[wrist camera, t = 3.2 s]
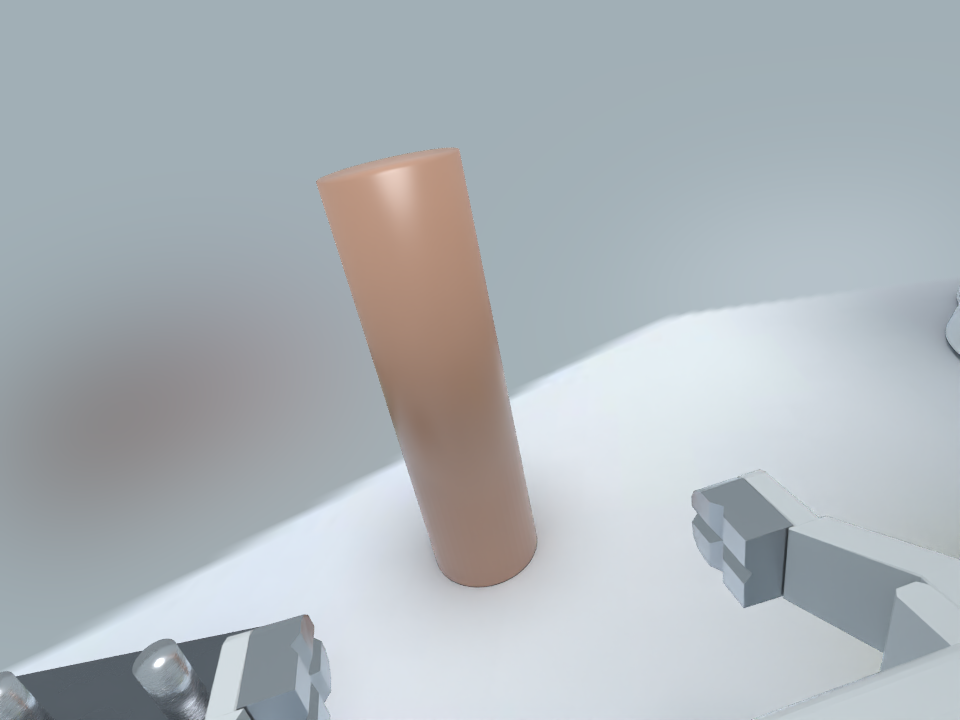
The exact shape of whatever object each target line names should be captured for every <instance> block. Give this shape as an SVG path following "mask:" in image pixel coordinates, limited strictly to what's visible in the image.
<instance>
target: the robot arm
mask: <svg viewBox="0 0 960 720" xmlns="http://www.w3.org/2000/svg"><path fill="white" fill-rule="evenodd" d="M957 301H958V303H959V304H958V306H957V308H956V310H955V312H954V314H953V315H952V317H951V319H950V320H949V322H948V324H947V326H946V332H945V333H946V338H947V340H948V342H949V343H950V345H951V346H952V347H953V349H954V350H955V351H956V352H957V353H959V354H960V287H959V290H958V293H957ZM692 507H693V508H694V509H695V510H696V512H697V515H696V517H695V518H694V520H693V521H692V527H693V536H694V539H695V541H696V544H697V547H698V549H699V551H700V552H701V554H702V556H703V557H704V559H705V560H706V561H707V563H708V564H709V565H710V566H711V567H714V568H716V569H718V570H720V571H723V583H724V584H725V585H726V587H727V588H728V589H729V590H730V592H731V593H732V594H733V595H734V597H735V598H736V599H737V600H738V602H739V603H740V604H741V605H742V607H743V608H746V607H749V606H752V605H756V604H759V603H762V602H765V601H768V600H772V599H775V598H778V597H781V596H784V597H783V598H784V599H786V600H788V601H789V602H791V603H793V604H795V605H797V606H799V607H800V608H802V609H804V610H806V611H808V612H810V613H811V614H813V615H815V616H817V617H819V618H821V619H822V620H824V621H826V622H828V623H830V624H832V625H833V626H835V627H837V628H839V629H841V630H843V631H844V632H846V633H848V634H850V635H852V636H853V637H855V638H857V639H859V640H861V641H863V642H864V643H866V644H868V645H870V646H872V647H874V648H875V649H877V650H879V651H881V652H883V658H882V663H881V668H880V672H879V673H876V674H873V675H871V676H868V677H865V678H862V679H860V680H857V681H854V682H852V683H849V684H846V685H844V686H841V687H838V688H835V689H833V690H830V691H827V692H825V693H822V694H819V695H816V696H814V697H811V698H808V699H806V700H803V701H800V702H797V703H795V704H792V705H789V706H787V707H784V708H781V709H779V710H776V711H773V712H770V713H768V714H765V715H762V716H760V717H757V718H754V719H751V720H960V559H957V558H954V557H951V556H948V555H945V554H942V553H939V552H935V551H932V550H929V549H926V548H923V547H920V546H917V545H914V544H911V543H908V542H905V541H902V540H898V539H895V538H892V537H889V536H886V535H883V534H880V533H877V532H874V531H871V530H868V529H865V528H862V527H858V526H855V525H852V524H849V523H846V522H843V521H840V520H837V519H834V518H831V517H828V516H824V517H821V518H819V517H818V516H817V515H815V514H814V513H813V512H812V511H811V510H810V509H808V508H807V507H806V506H805V505H804V504H803V503H801V502H800V501H799V500H798V499H797V498H796V497H794V496H793V495H792V494H791V493H790V492H789V491H787V490H786V489H785V488H784V487H783V486H782V485H780V484H779V483H778V482H777V481H776V480H775V479H773V478H772V477H771V476H770V475H769V474H768V473H766V472H765V471H762V470H757V471H754V472H751V473H747V474H744V475H741V476H738V477H737V478H732V479H729V480H726V481H723V482H720V483H717V484H714V485H711V486H708V487H705V488H702V489H699V490H695V491H694V492H693V494H692ZM330 693H331V674H330V666H329V660H328V657H327V653H326V650H325V648H324V646H323V643H322V641H320V640H317V639H315V638H314V625H313V623H312V621H311V619H310V618H309V616H308V615H301V616H297V617H294V618H290V619H287V620H283V621H280V622H276V623H273V624H269V625H266V626H263V627H259V628H256V629H253V630H251V631H247V632H244V633H240V634H237V635H233V636H230V637H227V639H226V640H225V642H224V643H223V645H222V648H221V652H220V656H219V661H218V665H217V669H216V673H215V678H214V682H213V686H212V690H211V694H210V699H209V703H208V707H207V711H206V716H205V720H330V714H329V712H328V710H327V708H326V706H325V704H324V702H325V701H326V699H327V697H328V696H329V694H330Z"/></svg>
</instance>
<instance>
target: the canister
mask: <svg viewBox="0 0 960 720" xmlns="http://www.w3.org/2000/svg"><path fill="white" fill-rule="evenodd" d="M316 183H317V186H318V189H319V192H320V196H321V199H322V202H323V205H324V208H325V211H326V215H327V217H328V221H329V224H330V227H331V230H332V233H333V237H334V240H335V243H336V246H337V249H338V252H339V255H340V259H341V262H342V265H343V268H344V271H345V274H346V277H347V281H348V284H349V287H350V290H351V293H352V296H353V299H354V303H355V306H356V309H357V312H358V315H359V318H360V321H361V325H362V328H363V331H364V334H365V337H366V340H367V343H368V346H369V349H370V353H371V356H372V359H373V362H374V365H375V368H376V372H377V375H378V378H379V381H380V384H381V387H382V391H383V393H384V397H385V400H386V403H387V406H388V409H389V413H390V416H391V419H392V422H393V425H394V428H395V431H396V435H397V437H398V441H399V444H400V447H401V450H402V453H403V457H404V460H405V463H406V466H407V469H408V472H409V475H410V479H411V482H412V485H413V488H414V491H415V494H416V497H417V501H418V504H419V507H420V510H421V513H422V516H423V519H424V523H425V526H426V529H427V532H428V535H429V538H430V541H431V545H432V548H433V551H434V554H435V557H436V560H437V563H438V566H439V568H440V570H441V571H442V572H443V574H444V575H445V576H446V577H448V578H449V579H450V580H452V581H454V582H456V583H458V584H461V585H465V586H470V587H485V586H491V585H495V584H499V583H501V582H504V581H506V580H508V579H510V578H512V577H514V576H515V575H517V574H518V573H519V572H520V571H522V570H523V569H524V568H525V567H526V566H527V565H528V563H529V562H530V561H531V559H532V557H533V555H534V553H535V550H536V546H537V536H536V531H535V526H534V521H533V516H532V511H531V506H530V501H529V496H528V491H527V486H526V481H525V476H524V471H523V466H522V461H521V456H520V451H519V446H518V441H517V436H516V431H515V426H514V421H513V416H512V411H511V406H510V401H509V396H508V391H507V386H506V381H505V376H504V371H503V366H502V361H501V356H500V351H499V346H498V341H497V336H496V331H495V326H494V321H493V316H492V311H491V306H490V301H489V296H488V291H487V286H486V281H485V276H484V271H483V266H482V261H481V256H480V252H479V246H478V241H477V236H476V232H475V226H474V222H473V217H472V211H471V206H470V201H469V196H468V191H467V186H466V181H465V176H464V171H463V166H462V161H461V156H460V152H459V149H458V148H440V149H431V150H424V151H418V152H413V153H407V154H402V155H398V156H393V157H388V158H384V159H380V160H376V161H372V162H368V163H364V164H360V165H357V166H353V167H350V168H346V169H343V170H340V171H337V172H334V173H331V174H329V175H326V176H324V177H322V178H320V179H318V180H317V181H316Z"/></svg>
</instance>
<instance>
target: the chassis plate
mask: <svg viewBox="0 0 960 720" xmlns="http://www.w3.org/2000/svg"><path fill="white" fill-rule="evenodd" d="M261 627H263V626H261ZM256 628H259V627H256ZM256 628H252V629H247V630H242V631H237V632H232V633H227V634H222V635H217V636H212V637H207V638H202V639H198V640H193V641H188V642H183V643H178V644H176V642H175V641H174V640H172V639H162V640H159V641H157V642H155V643H153V644H151V645H150V646H148V647H147V648H146V649H144V650H143V651H139V652H134V653H129V654H124V655H119V656H114V657H109V658H104V659H99V660H94V661H90V662H85V663H80V664H75V665H70V666H65V667H60V668H55V669H50V670H45V671H40V672H36V673H31V674H26V675H21V676H16V677H15V676H14V674H13V673H11V672H9V671H5V672H1V673H0V720H205V716H206V711H207V707H208V703H209V699H210V694H211V690H212V686H213V682H214V678H215V673H216V669H217V665H218V661H219V656H220V652H221V648H222V645H223V643H224V642H225V640H226V639H227V637H230V636H233V635H237V634H240V633H244V632H247V631H251V630H253V629H256Z"/></svg>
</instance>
